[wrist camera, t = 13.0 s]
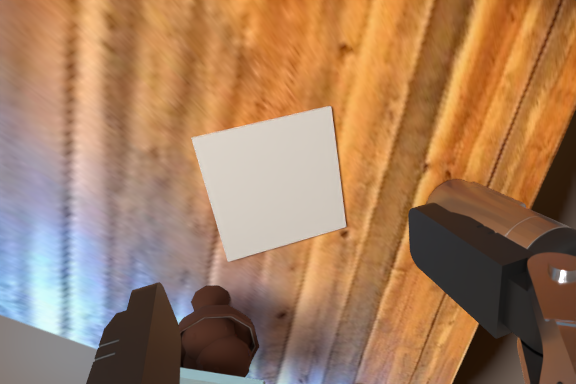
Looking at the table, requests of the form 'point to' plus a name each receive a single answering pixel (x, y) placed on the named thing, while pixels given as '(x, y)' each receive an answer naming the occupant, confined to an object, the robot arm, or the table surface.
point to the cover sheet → (213, 378)
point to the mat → (273, 181)
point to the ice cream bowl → (217, 335)
